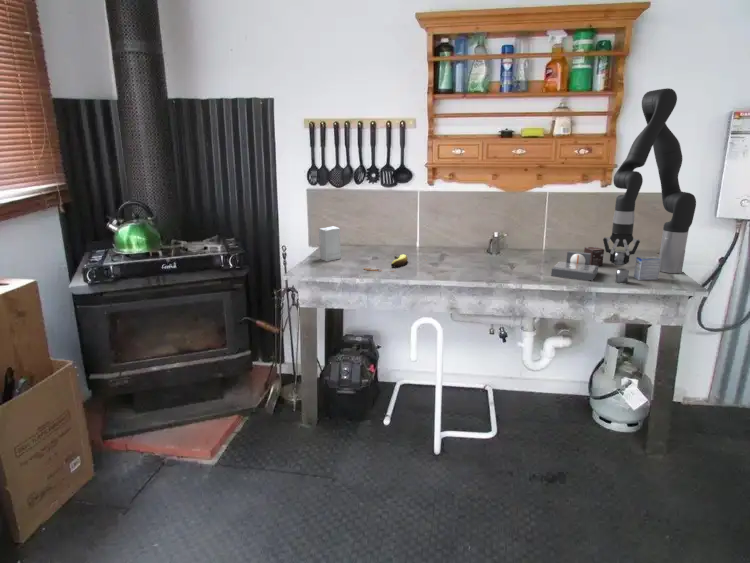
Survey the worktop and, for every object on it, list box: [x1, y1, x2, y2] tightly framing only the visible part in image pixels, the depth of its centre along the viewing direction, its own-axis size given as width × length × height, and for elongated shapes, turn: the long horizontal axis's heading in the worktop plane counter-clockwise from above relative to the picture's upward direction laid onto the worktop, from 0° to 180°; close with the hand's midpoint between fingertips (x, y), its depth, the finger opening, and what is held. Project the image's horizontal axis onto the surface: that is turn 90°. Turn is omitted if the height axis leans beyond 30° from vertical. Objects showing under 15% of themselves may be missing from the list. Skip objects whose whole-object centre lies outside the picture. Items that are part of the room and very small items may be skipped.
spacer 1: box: [612, 250, 626, 266], centre depth 214 cm, size 4×4×5 cm
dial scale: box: [550, 250, 599, 282], centre depth 217 cm, size 16×14×8 cm
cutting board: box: [363, 254, 427, 273], centre depth 238 cm, size 35×27×4 cm
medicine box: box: [633, 256, 661, 281], centre depth 211 cm, size 8×4×9 cm, turn 92°
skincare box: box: [318, 225, 342, 262], centre depth 243 cm, size 8×6×15 cm
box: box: [583, 246, 605, 267], centre depth 233 cm, size 6×6×7 cm
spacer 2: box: [614, 268, 630, 284], centre depth 207 cm, size 4×4×5 cm
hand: (619, 263), depth 215 cm, fingers closed on spacer 1, 4 cm apart
